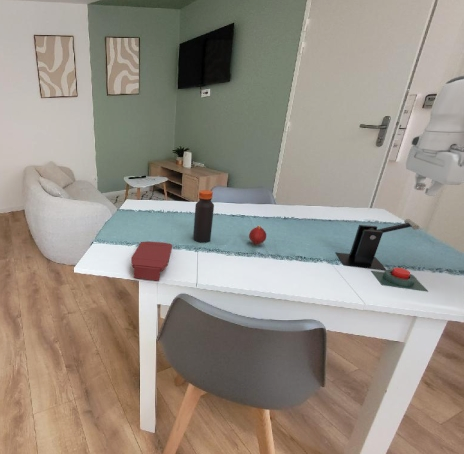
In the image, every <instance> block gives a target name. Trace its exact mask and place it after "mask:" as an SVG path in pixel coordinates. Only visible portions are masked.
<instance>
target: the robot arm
mask: <svg viewBox="0 0 464 454" xmlns="http://www.w3.org/2000/svg"><path fill="white" fill-rule="evenodd" d="M429 117H430V119H429V122H428V124H427V125H426V126H425V128H424V130H423V133H422V134H420V135H416V136H413V137H412V139H411V141H410V145H411V147H410V149H409V152H408V155H407V159H406V162H405V168H406V170H408V171H410V172H413V173H415V176H414V181H415V183H414V186H413V189H414V190H416V191H424V190H425V192H424V194H425V195H427V196H428V197H435V196H437V194H438V193H439V190H441V188H443V187H444V186H445V185H447V186H449V185H450V186H451V185H452V186H453V185H454V186H460V185H462V184H463V183H464V75H461V76H457V77H454V78H451V79H450V80H448V81H447V82H445V83H444V84H443V86H442V87H441V89H440V90H439V93H438V94H437V96H436V98H435V101H434V103H433V105H432V108H431V110H430V116H429ZM426 178H427V179H430V180H431V181H430V185H429V187H426V186H427V184H426Z"/></svg>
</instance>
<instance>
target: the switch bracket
mask: <svg viewBox="0 0 464 454" xmlns="http://www.w3.org/2000/svg"><path fill="white" fill-rule="evenodd" d="M369 228H373V229H374V230H378V229H379V228H378V226H377V225H365V224H359V225H358V227H357V230H356V233H355V237H354V240H353V242H352V245H351V249H350V251H349V253H344V252H335V255H336V257H337V258H338V260H339V261H340V263H341V264H342V266H344V267H351V268H361V269H368V270H369V269H370V270H374V271H382V272H385V270H387V268H386V267H385V266H384V265H383V264H382V263H381V262H380V260H379V259H378V258H377V257H376V253H377V251H378V248H379V245H380V242H381V239H382V236H383V234H384V233H383V232H382V231H374V230H365V229H369ZM361 230H364V231H363V234H362V231H361Z"/></svg>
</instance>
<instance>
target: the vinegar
mask: <svg viewBox="0 0 464 454" xmlns="http://www.w3.org/2000/svg"><path fill="white" fill-rule="evenodd" d="M213 193H214V192H213V191H212V190H206V189H205V190H200V191H198V201H197V202H196V203H195V208H194V220H193V234H192V239H193V240H194V241H195V242H196V243H201V242H205V243H209V242H210V241H211V240H212V231H213V230H212V228H213V220H214V210H215V209H214V208H215V204H214V203H213V201H212V200H213Z"/></svg>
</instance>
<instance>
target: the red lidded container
mask: <svg viewBox="0 0 464 454" xmlns="http://www.w3.org/2000/svg"><path fill="white" fill-rule="evenodd" d="M172 249H173V244H171V243H168V242H160V241H149V240H148V241H141V242H140V243H139V244H138V246H137V248H136V249H135V251H134V252H133V254H132V256H131V258H130V262H131V266H132V269H133V278H135V279H142V280H149V281H158V282H159V281H160V279H161V272H163V271H164V270H165V269H166V267H168V265H169V261H170V257H171V253H172Z"/></svg>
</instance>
